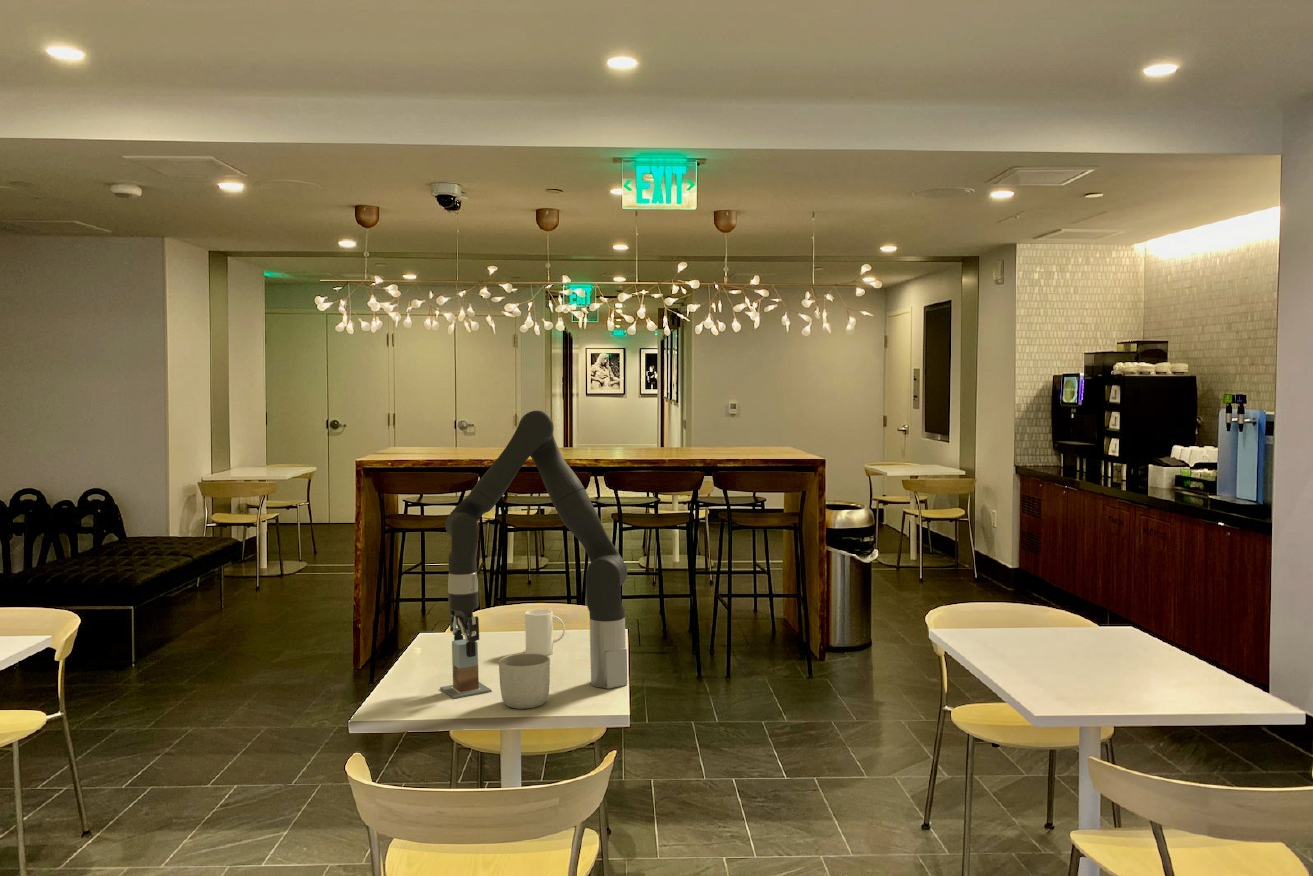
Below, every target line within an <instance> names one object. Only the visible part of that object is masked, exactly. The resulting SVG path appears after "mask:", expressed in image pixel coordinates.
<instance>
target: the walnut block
mask: <svg viewBox="0 0 1313 876" xmlns="http://www.w3.org/2000/svg"><path fill="white" fill-rule="evenodd" d="M479 682H480V681H479V665H478V666H473V667H467V668H461V669H459V668H457V667H456V666H454V665H453V664H452V685H453V688H455V689H456V690H457V691H459V692H464V691H470V690H475V689H479Z"/></svg>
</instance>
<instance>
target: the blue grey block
mask: <svg viewBox="0 0 1313 876" xmlns="http://www.w3.org/2000/svg"><path fill="white" fill-rule="evenodd" d="M478 644H479V643H478V641H475V646H476V655H475V656H473V657H467V655H466V639H464V638H463V640H456V641H454V640H452V641H451V653H452V654H451V657H452V658H451V660H452V661H451V663H452V666H453V665H454V666H456V667H457V668H459V669H461V668H467V667H473V666H478V667H479V652H478V651H479V649H478V646H479V645H478Z"/></svg>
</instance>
